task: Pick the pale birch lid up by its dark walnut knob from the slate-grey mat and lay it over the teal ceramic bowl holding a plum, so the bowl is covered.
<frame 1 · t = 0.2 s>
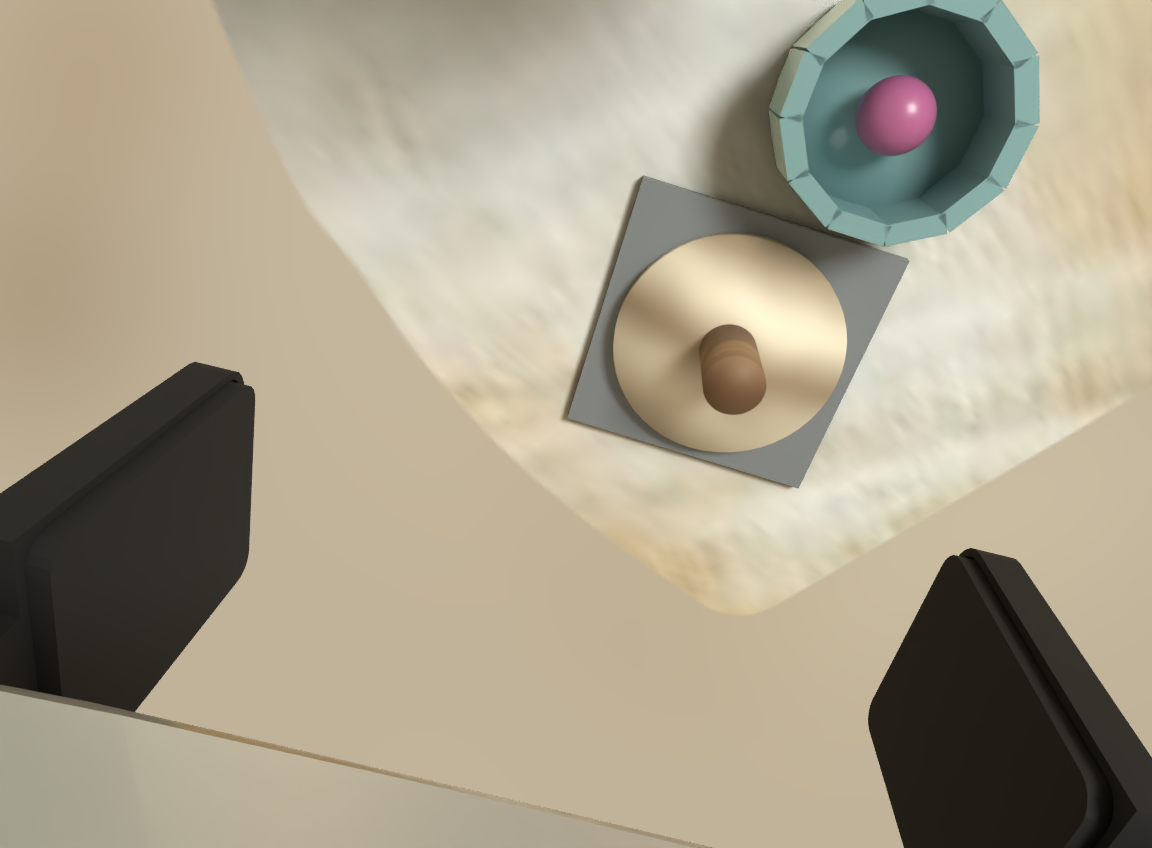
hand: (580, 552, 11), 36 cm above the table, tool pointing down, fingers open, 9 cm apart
lid: (726, 344, 46), point 1 cm above the table, touching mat
bowl: (881, 110, 41), on the table
plum: (886, 112, 40), point 1 cm above the table, touching bowl
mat: (726, 341, 47), on the table
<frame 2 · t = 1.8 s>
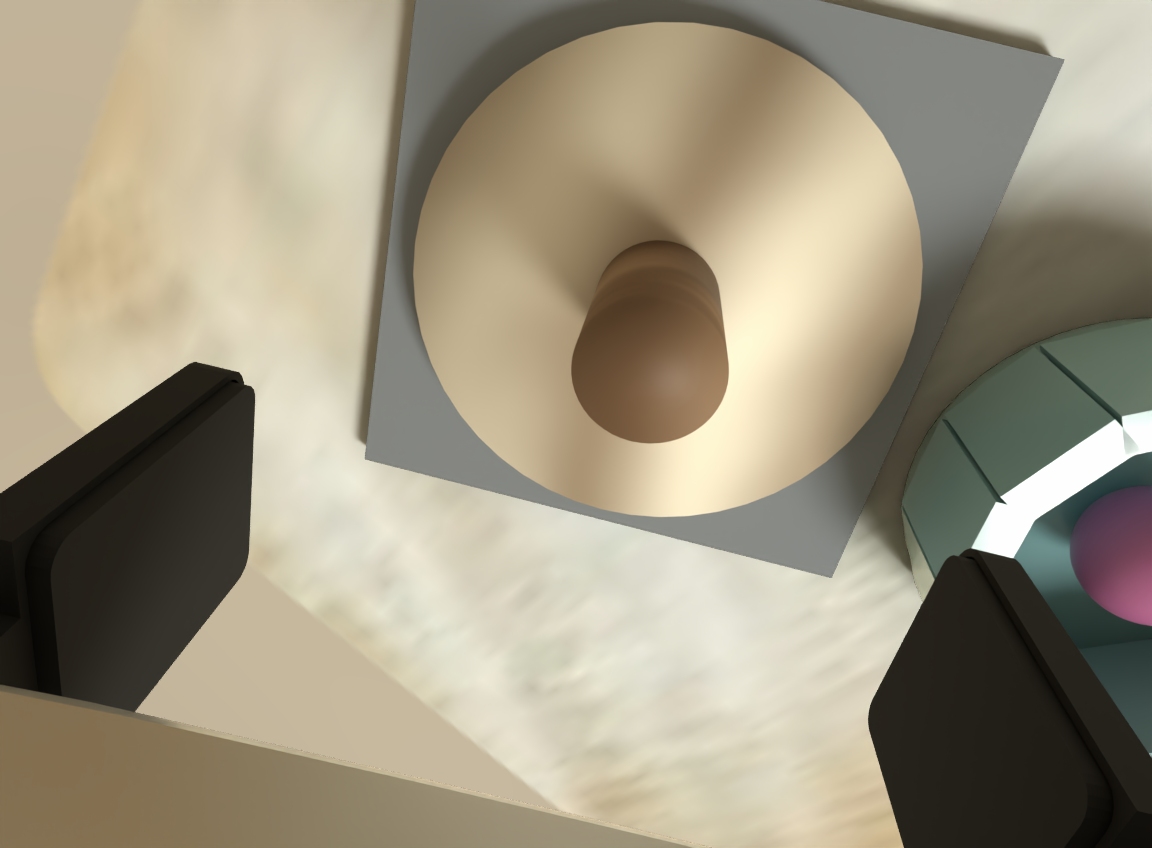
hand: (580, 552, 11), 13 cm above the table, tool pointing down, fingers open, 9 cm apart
lid: (658, 291, 22), point 1 cm above the table, touching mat
bowl: (1101, 499, 23), on the table
plum: (1117, 518, 22), point 1 cm above the table, touching bowl
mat: (659, 285, 22), on the table
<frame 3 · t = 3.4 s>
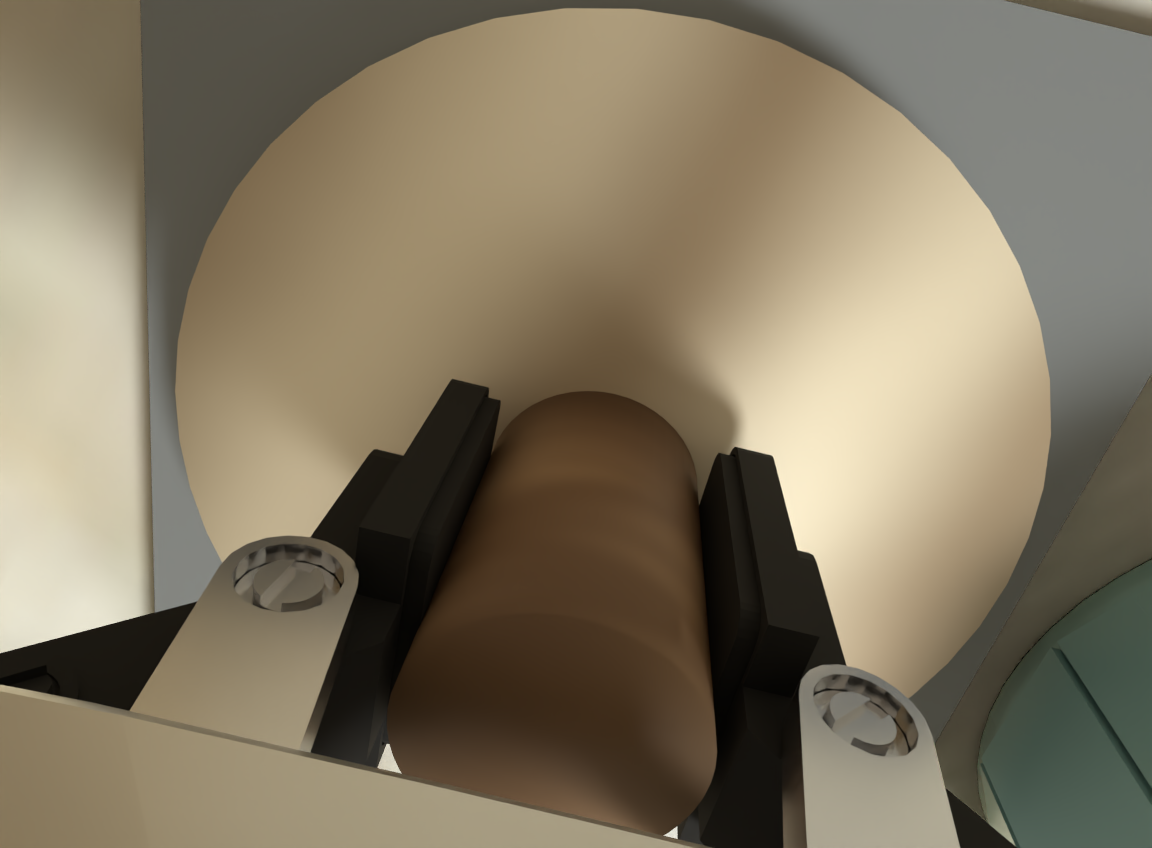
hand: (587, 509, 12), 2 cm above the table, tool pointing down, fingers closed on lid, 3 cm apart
lid: (596, 457, 13), point 1 cm above the table, touching gripper, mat
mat: (598, 440, 14), on the table
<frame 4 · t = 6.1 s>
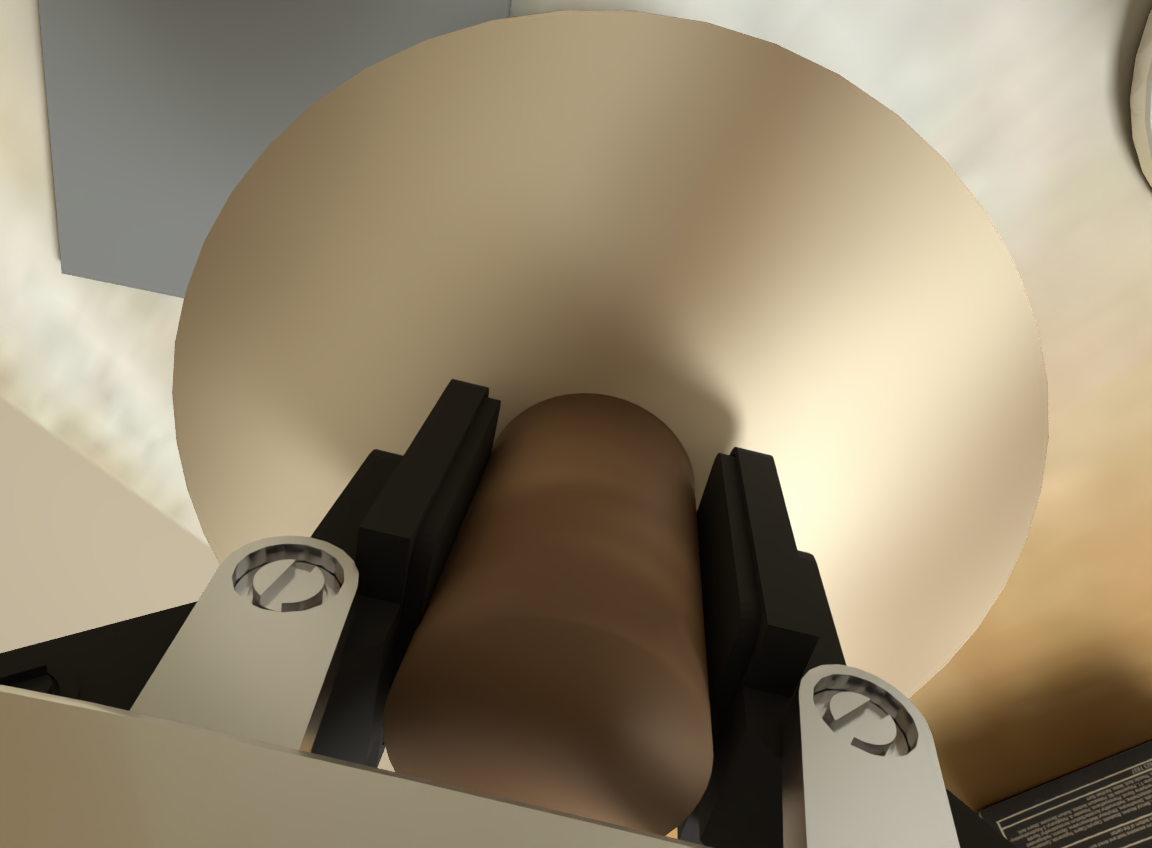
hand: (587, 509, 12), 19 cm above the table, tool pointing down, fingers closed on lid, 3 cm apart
lid: (594, 459, 13), point 17 cm above the table, touching gripper
small box: (1104, 803, 39), on the table
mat: (274, 100, 27), on the table
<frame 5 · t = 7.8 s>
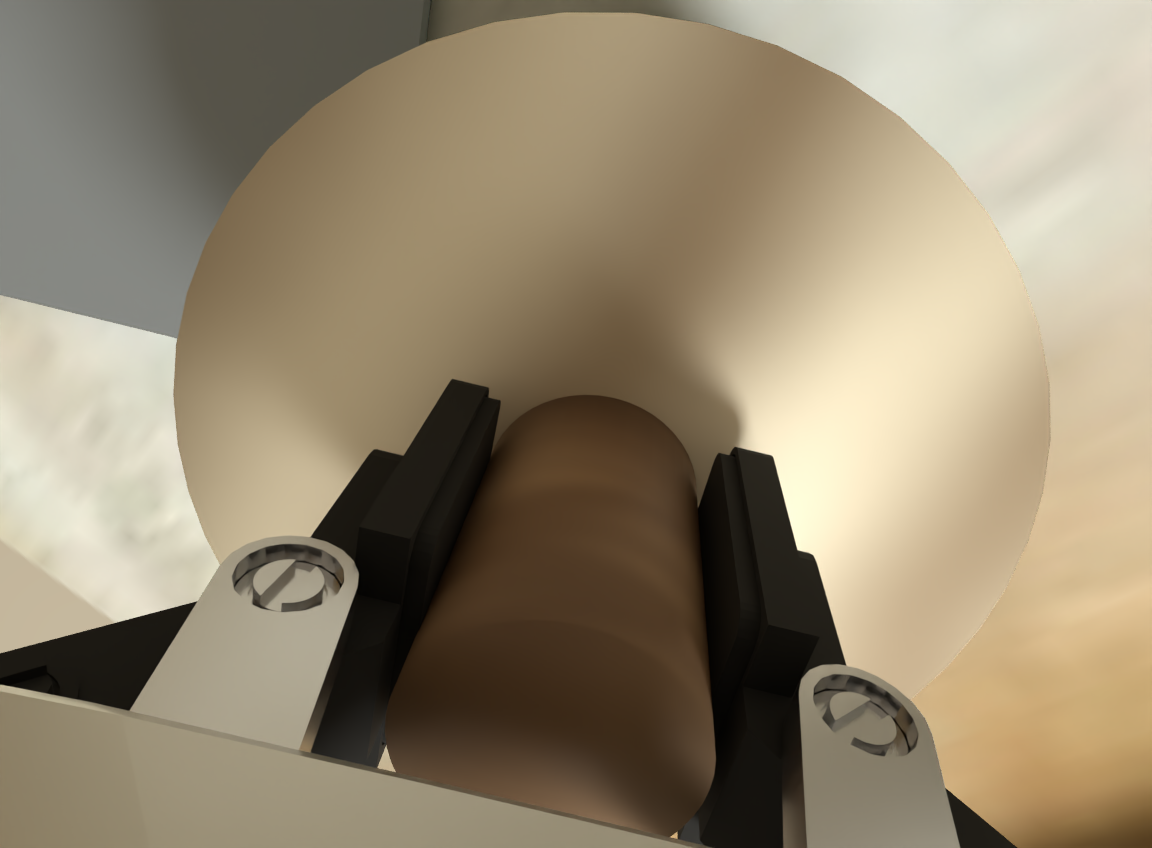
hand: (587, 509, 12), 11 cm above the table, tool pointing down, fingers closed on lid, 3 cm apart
lid: (595, 460, 13), point 10 cm above the table, touching gripper
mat: (130, 44, 20), on the table
when the fingers open (8 cm above the table, at t = 9.1 s): lid drops 1 cm, resting on bowl.
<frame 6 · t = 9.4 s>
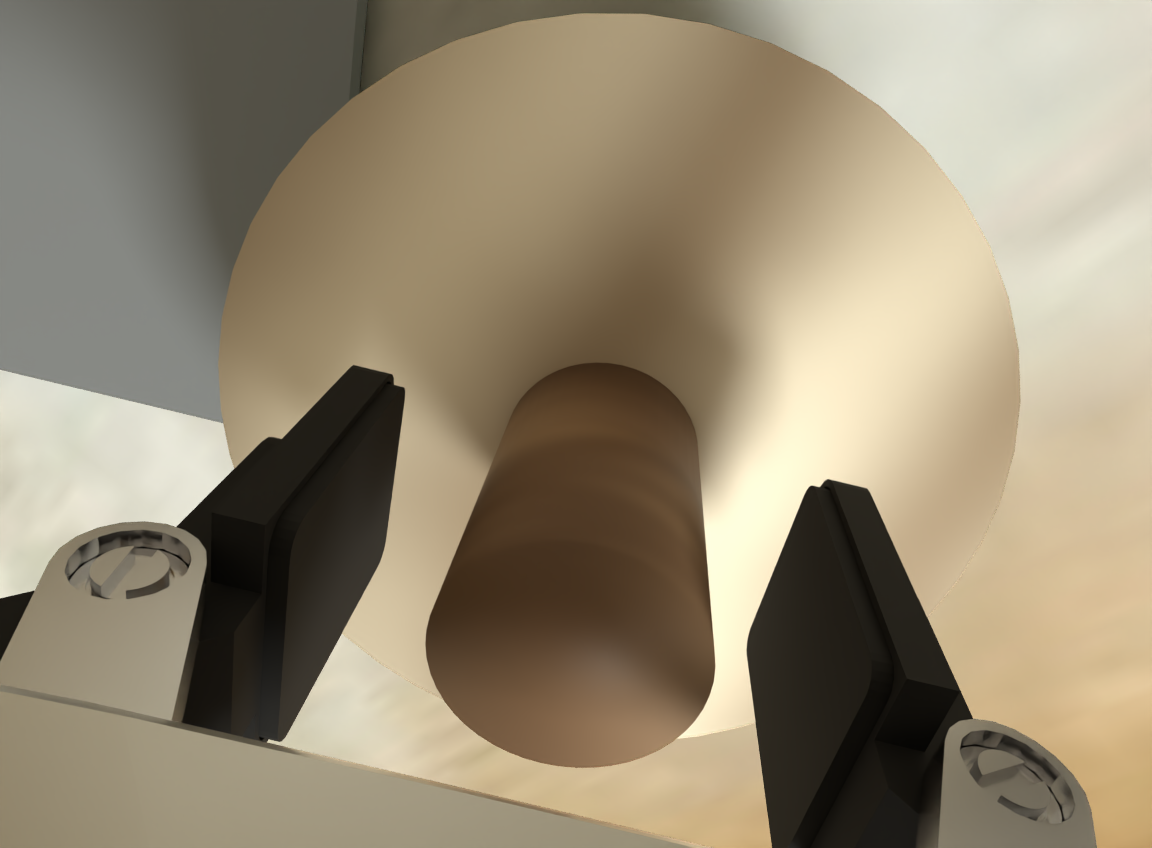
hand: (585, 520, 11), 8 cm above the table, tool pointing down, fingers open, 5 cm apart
lid: (604, 426, 14), point 5 cm above the table, touching bowl
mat: (16, 52, 17), on the table
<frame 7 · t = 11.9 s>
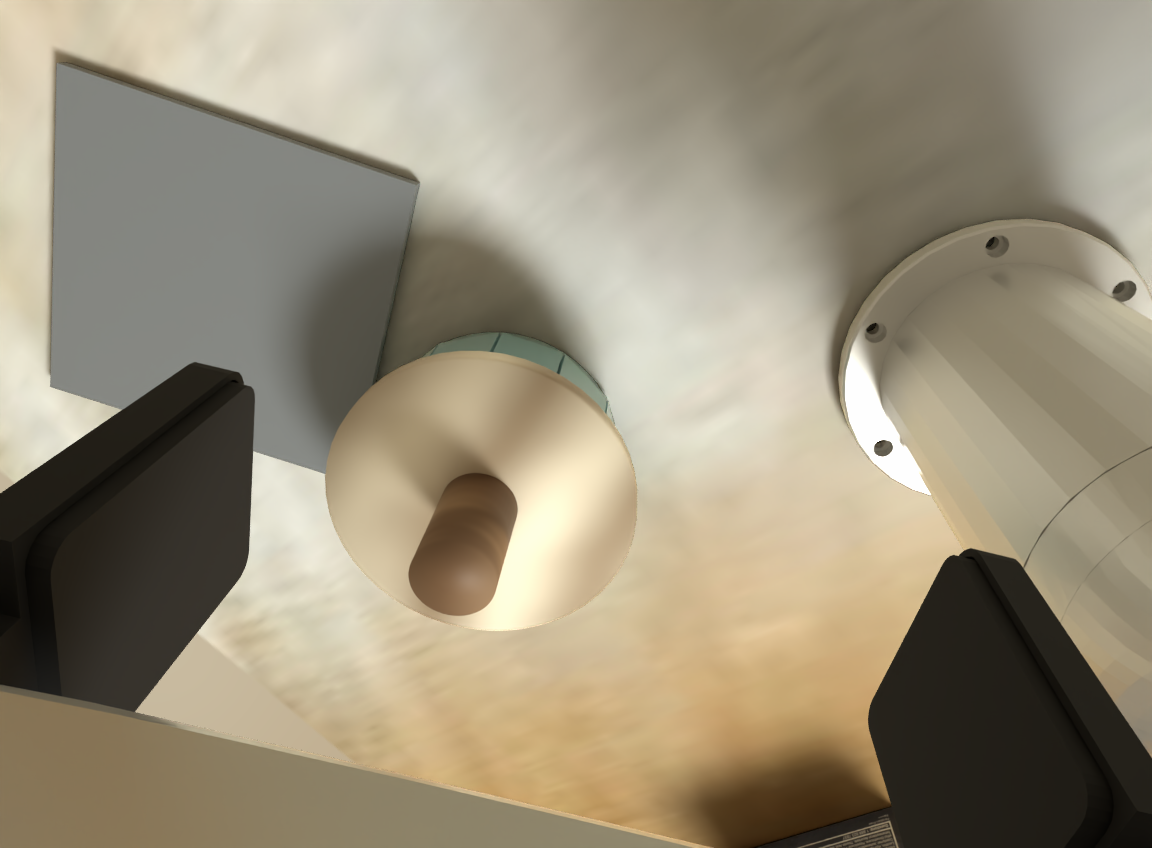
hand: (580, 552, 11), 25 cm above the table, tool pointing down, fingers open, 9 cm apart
lid: (483, 494, 34), point 5 cm above the table, touching bowl
bowl: (502, 440, 39), on the table
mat: (225, 290, 37), on the table
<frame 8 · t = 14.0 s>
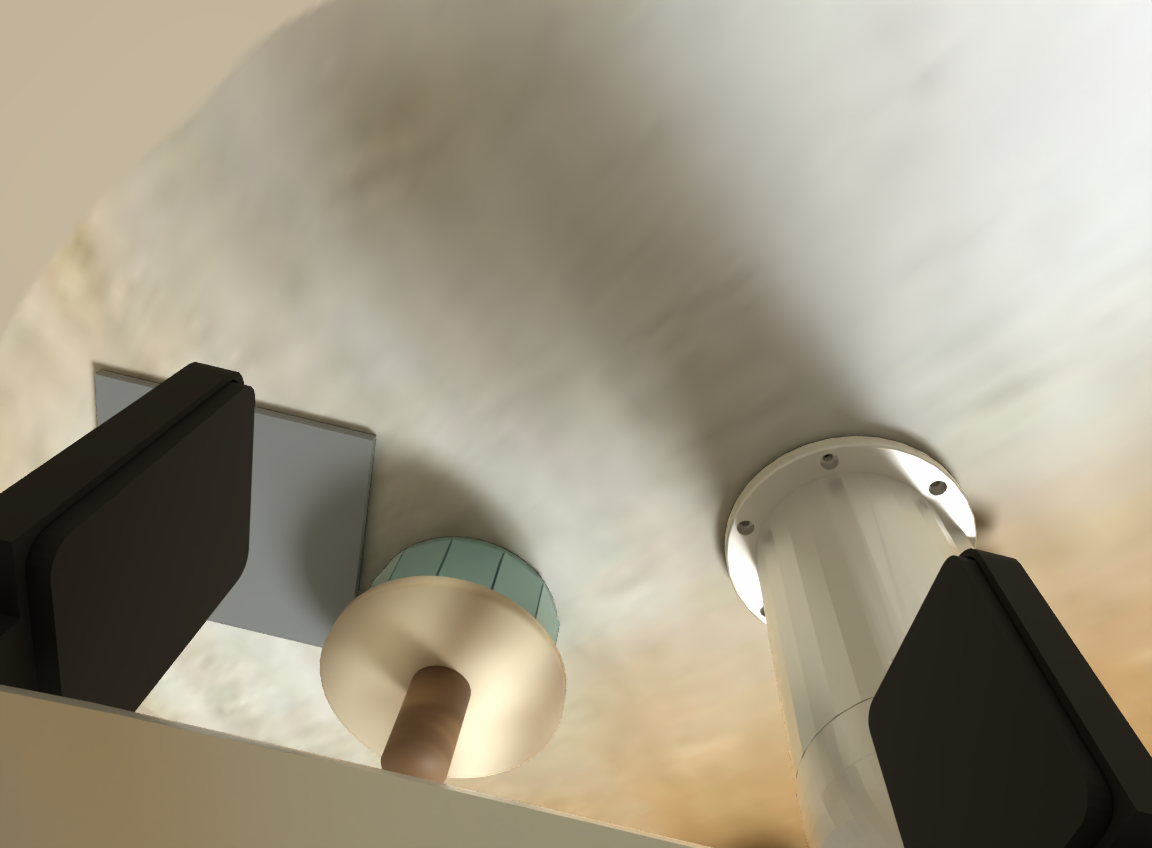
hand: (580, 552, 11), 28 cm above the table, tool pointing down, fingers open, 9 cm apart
lid: (445, 675, 43), point 5 cm above the table, touching bowl
bowl: (465, 615, 48), on the table
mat: (235, 518, 46), on the table
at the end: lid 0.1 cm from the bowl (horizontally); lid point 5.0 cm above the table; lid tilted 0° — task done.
